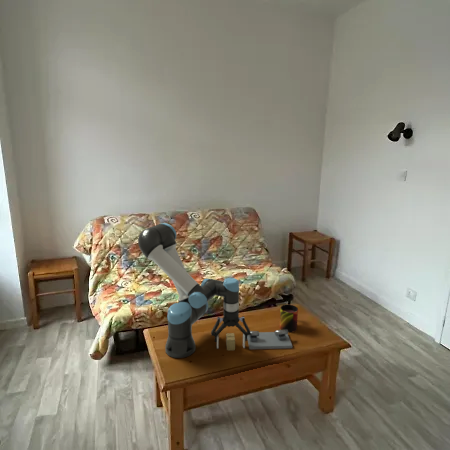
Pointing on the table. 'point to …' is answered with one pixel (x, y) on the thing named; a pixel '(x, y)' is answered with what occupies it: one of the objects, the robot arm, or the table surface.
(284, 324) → the patterned mug
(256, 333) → the shaft left
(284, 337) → the shaft right
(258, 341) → the base plate
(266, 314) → the table surface
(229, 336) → the tan rectangular block
